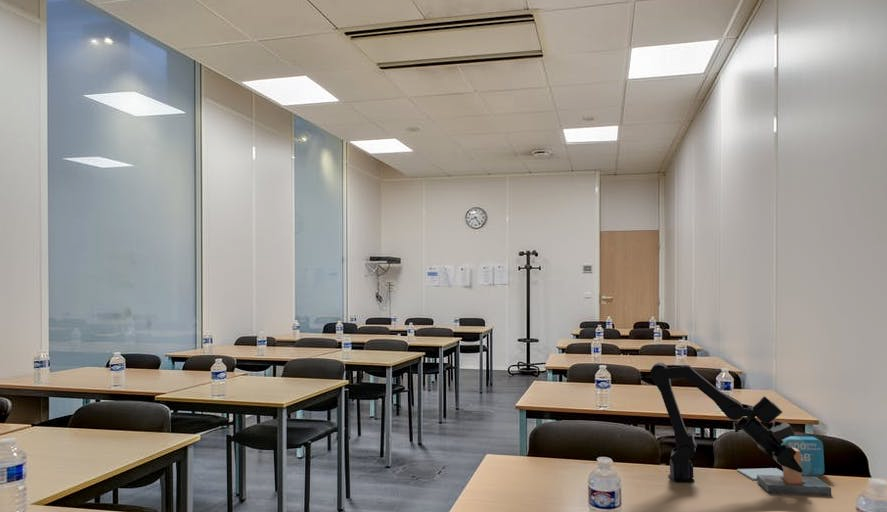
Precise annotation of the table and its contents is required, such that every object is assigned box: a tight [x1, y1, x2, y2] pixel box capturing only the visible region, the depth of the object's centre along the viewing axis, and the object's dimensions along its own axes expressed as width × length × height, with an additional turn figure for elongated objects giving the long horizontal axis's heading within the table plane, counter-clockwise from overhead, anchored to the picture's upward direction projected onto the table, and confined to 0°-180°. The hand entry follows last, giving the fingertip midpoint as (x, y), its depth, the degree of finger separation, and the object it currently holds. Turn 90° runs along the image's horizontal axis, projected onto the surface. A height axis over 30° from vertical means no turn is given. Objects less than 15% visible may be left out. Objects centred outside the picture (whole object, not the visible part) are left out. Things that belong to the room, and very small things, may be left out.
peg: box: [782, 448, 803, 484], centre depth 186 cm, size 4×4×12 cm
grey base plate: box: [756, 475, 832, 497], centre depth 186 cm, size 18×10×2 cm, turn 79°
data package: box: [781, 435, 825, 476], centre depth 202 cm, size 12×4×12 cm, turn 80°
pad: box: [736, 467, 783, 481], centre depth 200 cm, size 14×10×1 cm
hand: (796, 468), depth 186 cm, fingers open, 7 cm apart
